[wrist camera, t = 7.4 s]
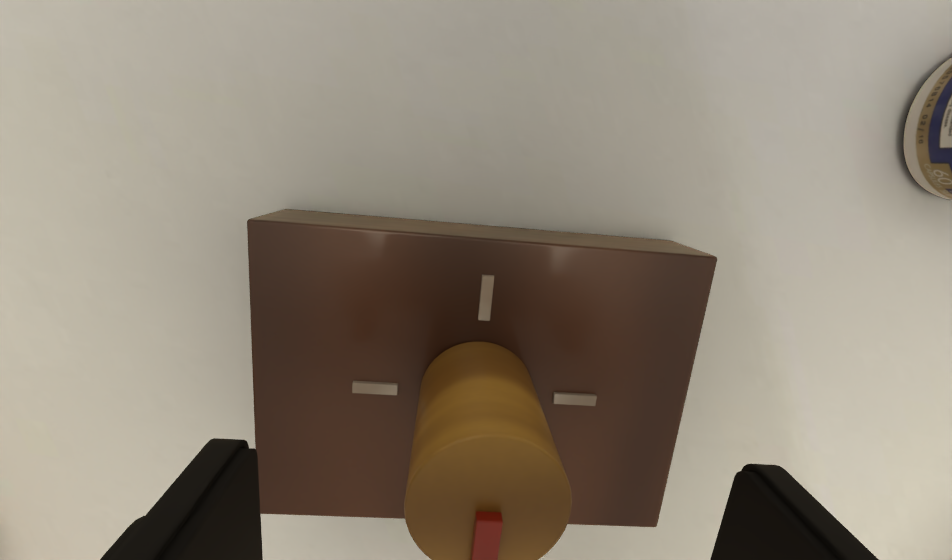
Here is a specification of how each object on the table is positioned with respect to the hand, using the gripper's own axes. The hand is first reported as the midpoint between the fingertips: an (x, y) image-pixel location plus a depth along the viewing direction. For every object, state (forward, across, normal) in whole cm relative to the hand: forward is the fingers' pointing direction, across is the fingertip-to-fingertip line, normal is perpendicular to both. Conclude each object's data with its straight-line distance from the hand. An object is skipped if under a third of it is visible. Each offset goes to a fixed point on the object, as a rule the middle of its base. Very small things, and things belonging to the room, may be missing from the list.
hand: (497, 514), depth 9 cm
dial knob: (+6, 0, +1) cm, 6 cm away
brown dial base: (+9, 0, +1) cm, 9 cm away
